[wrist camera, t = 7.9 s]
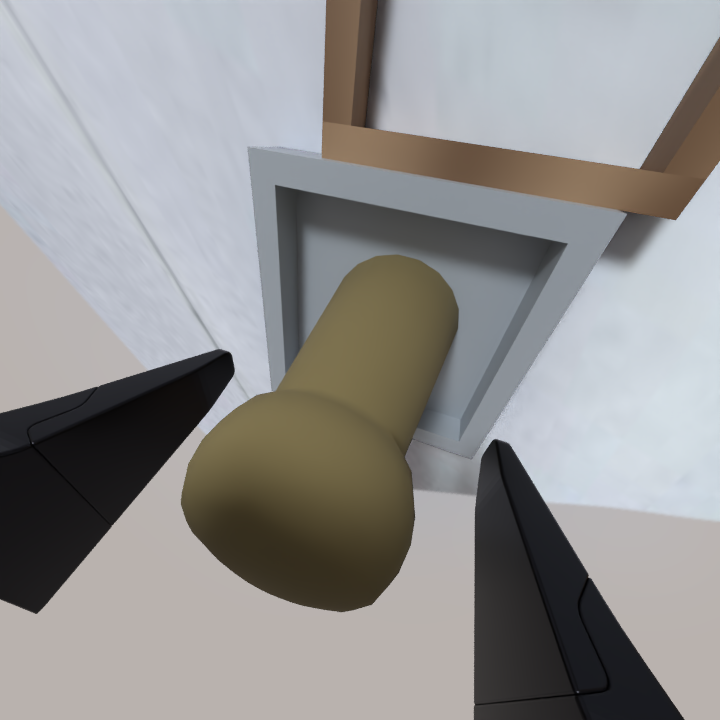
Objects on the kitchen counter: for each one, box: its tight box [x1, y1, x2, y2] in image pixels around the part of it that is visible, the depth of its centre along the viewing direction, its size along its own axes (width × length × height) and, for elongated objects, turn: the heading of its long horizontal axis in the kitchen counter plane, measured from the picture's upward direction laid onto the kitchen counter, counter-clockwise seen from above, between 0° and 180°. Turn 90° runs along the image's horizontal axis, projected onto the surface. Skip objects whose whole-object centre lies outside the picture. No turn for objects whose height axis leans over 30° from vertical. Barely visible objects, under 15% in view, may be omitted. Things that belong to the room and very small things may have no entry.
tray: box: [248, 147, 627, 459], centre depth 14 cm, size 12×12×2 cm
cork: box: [181, 254, 459, 612], centre depth 10 cm, size 6×6×11 cm
